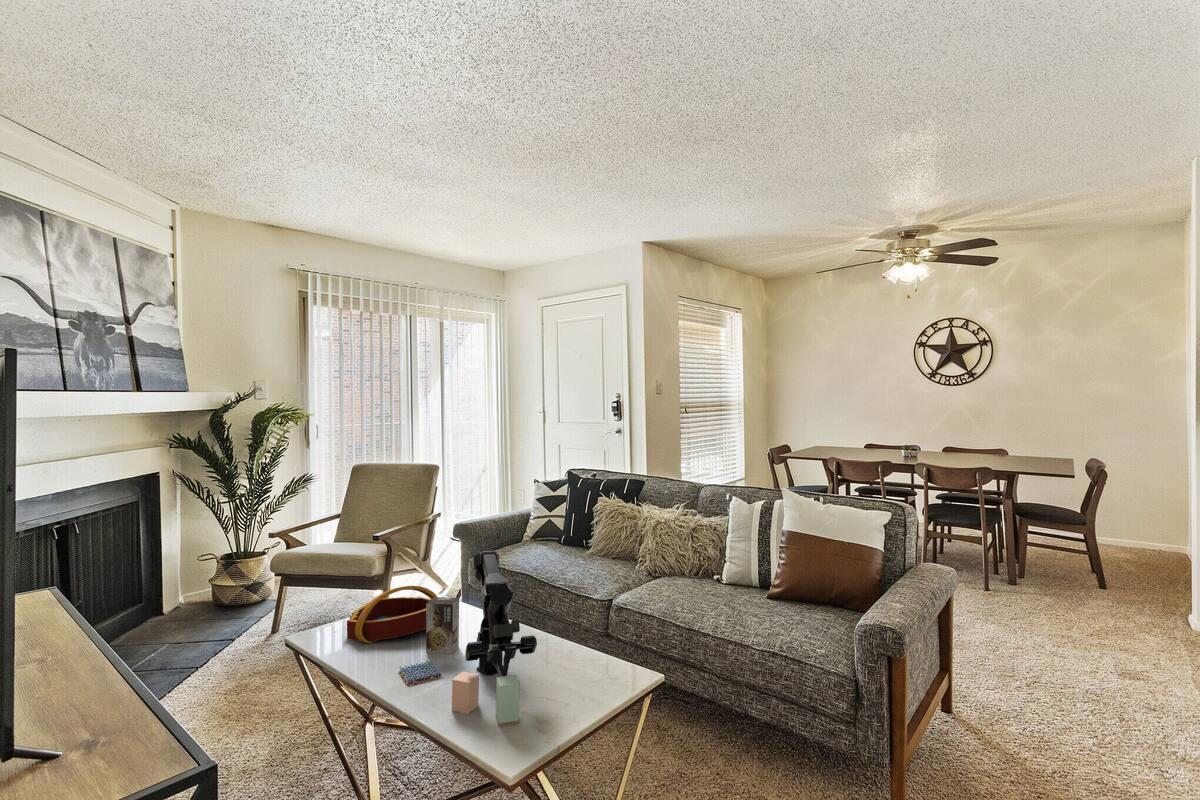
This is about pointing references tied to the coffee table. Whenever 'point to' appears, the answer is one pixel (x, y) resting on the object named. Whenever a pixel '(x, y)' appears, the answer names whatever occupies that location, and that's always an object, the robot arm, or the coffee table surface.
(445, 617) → the coffee box
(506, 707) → the sage block
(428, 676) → the woven mat
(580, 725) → the coffee table surface
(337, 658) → the coffee table surface
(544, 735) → the coffee table surface
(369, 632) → the decorative basket
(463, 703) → the terracotta block
